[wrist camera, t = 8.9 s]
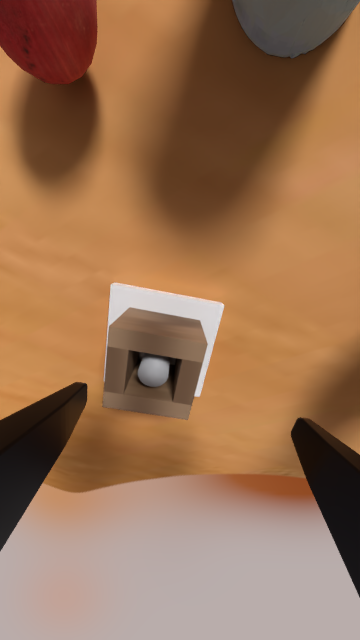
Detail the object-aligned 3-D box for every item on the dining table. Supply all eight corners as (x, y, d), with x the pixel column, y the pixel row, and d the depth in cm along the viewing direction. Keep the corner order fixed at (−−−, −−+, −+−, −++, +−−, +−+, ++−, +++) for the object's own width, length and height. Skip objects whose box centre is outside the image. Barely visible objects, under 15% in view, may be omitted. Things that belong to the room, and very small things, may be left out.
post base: (221, 302, 17) (240, 321, 12) (198, 389, 20) (205, 435, 15) (115, 282, 17) (84, 293, 11) (108, 374, 20) (80, 417, 14)
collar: (200, 320, 17) (207, 344, 12) (185, 379, 19) (187, 420, 14) (129, 307, 16) (108, 326, 12) (122, 368, 18) (102, 407, 14)
